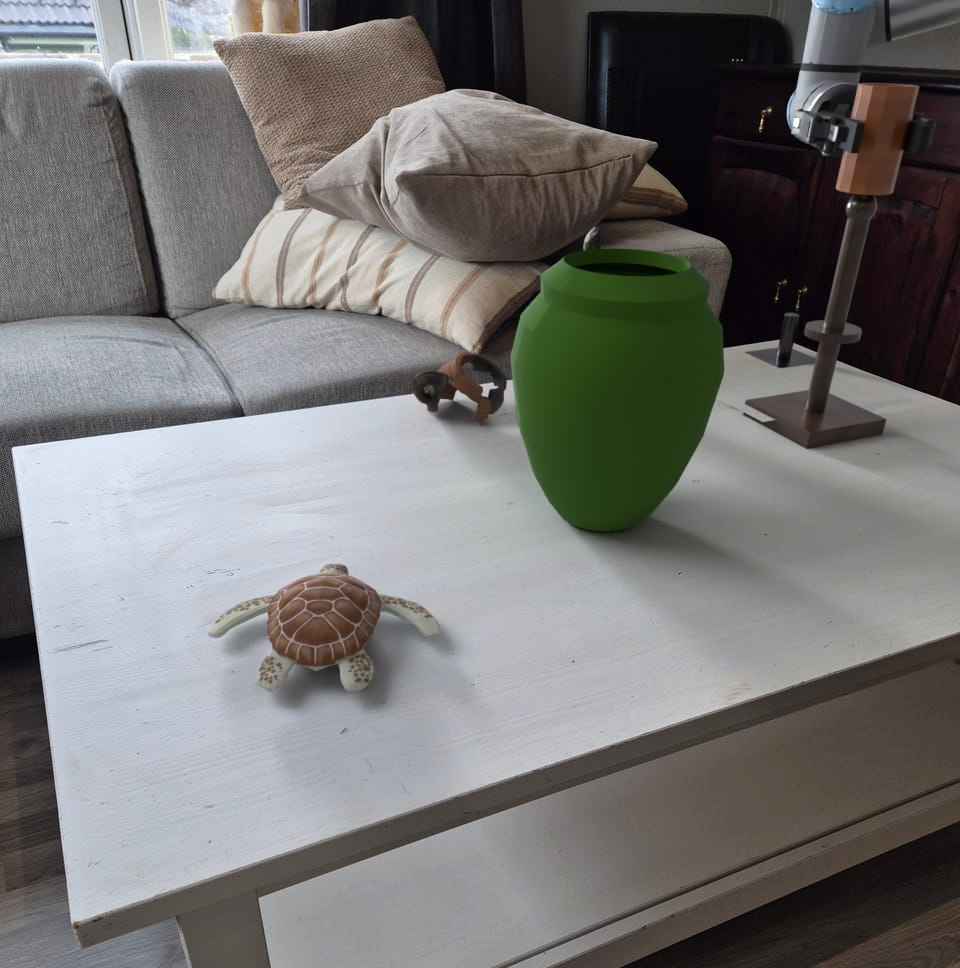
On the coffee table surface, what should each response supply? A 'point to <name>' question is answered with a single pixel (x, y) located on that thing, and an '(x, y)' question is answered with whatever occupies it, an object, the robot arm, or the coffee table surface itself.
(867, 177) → the octagonal wooden sleeve
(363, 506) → the coffee table surface
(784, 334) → the low peg
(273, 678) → the decorative turtle
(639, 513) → the vase
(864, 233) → the brown peg stand
